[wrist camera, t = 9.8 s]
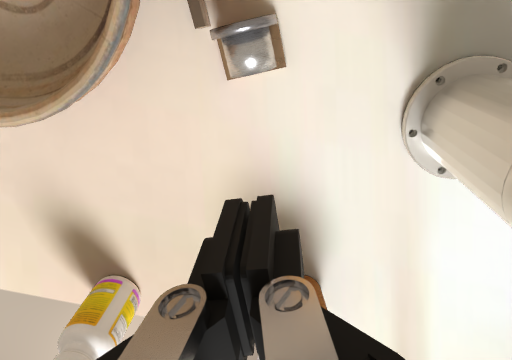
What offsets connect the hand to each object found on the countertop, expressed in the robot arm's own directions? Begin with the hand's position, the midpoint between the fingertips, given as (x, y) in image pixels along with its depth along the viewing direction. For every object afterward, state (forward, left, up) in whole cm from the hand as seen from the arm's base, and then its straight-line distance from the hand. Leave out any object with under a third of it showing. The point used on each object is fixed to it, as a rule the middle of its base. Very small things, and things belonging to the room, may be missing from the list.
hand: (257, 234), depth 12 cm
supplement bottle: (+27, +23, -27) cm, 44 cm away
